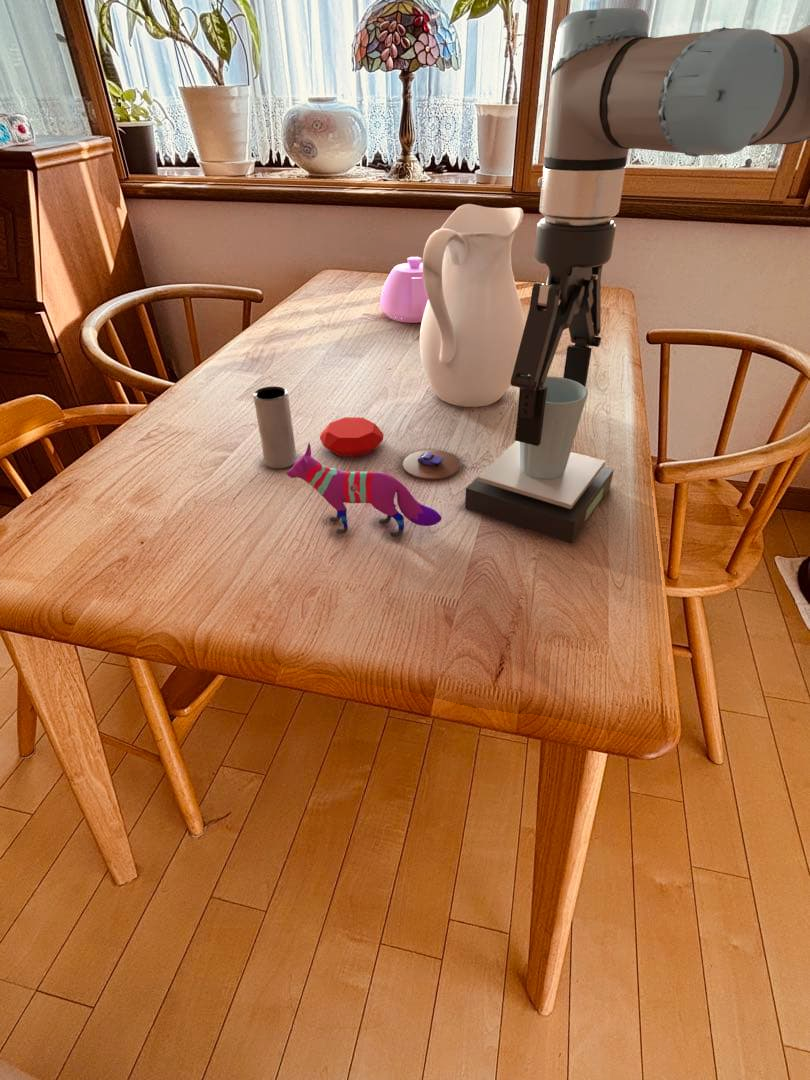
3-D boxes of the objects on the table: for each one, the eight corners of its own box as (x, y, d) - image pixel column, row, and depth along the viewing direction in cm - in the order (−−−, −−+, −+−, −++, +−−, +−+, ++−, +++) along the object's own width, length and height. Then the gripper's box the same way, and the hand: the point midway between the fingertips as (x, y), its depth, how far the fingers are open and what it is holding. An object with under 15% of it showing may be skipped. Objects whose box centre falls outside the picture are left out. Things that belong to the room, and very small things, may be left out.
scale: (610, 489, 82) (617, 459, 79) (572, 543, 72) (577, 512, 70) (511, 461, 88) (514, 433, 85) (464, 508, 78) (466, 478, 76)
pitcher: (449, 368, 116) (454, 200, 99) (534, 386, 109) (555, 208, 92) (378, 417, 100) (370, 225, 83) (472, 442, 92) (484, 237, 76)
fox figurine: (297, 516, 77) (286, 441, 71) (442, 522, 76) (444, 447, 70) (289, 533, 74) (278, 457, 68) (440, 540, 73) (442, 463, 67)
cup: (527, 489, 73) (538, 406, 67) (501, 459, 79) (508, 380, 73) (585, 478, 75) (600, 397, 69) (554, 450, 81) (566, 373, 75)
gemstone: (390, 454, 90) (390, 435, 88) (330, 465, 87) (328, 446, 86) (372, 428, 97) (371, 410, 95) (316, 437, 94) (314, 419, 93)
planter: (294, 451, 91) (285, 384, 85) (298, 466, 87) (289, 397, 81) (263, 455, 90) (252, 388, 84) (266, 471, 86) (254, 401, 80)
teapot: (453, 328, 135) (455, 269, 127) (381, 330, 134) (379, 271, 127) (443, 299, 152) (444, 245, 145) (379, 301, 152) (377, 247, 144)
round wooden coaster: (446, 485, 83) (446, 476, 82) (392, 472, 86) (392, 463, 85) (468, 459, 88) (469, 449, 87) (418, 447, 91) (418, 438, 90)
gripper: (584, 198, 71) (560, 378, 83) (484, 236, 54) (473, 454, 66) (651, 202, 67) (616, 389, 80) (567, 244, 51) (539, 472, 63)
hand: (551, 419), depth 73 cm, fingers open, 13 cm apart
